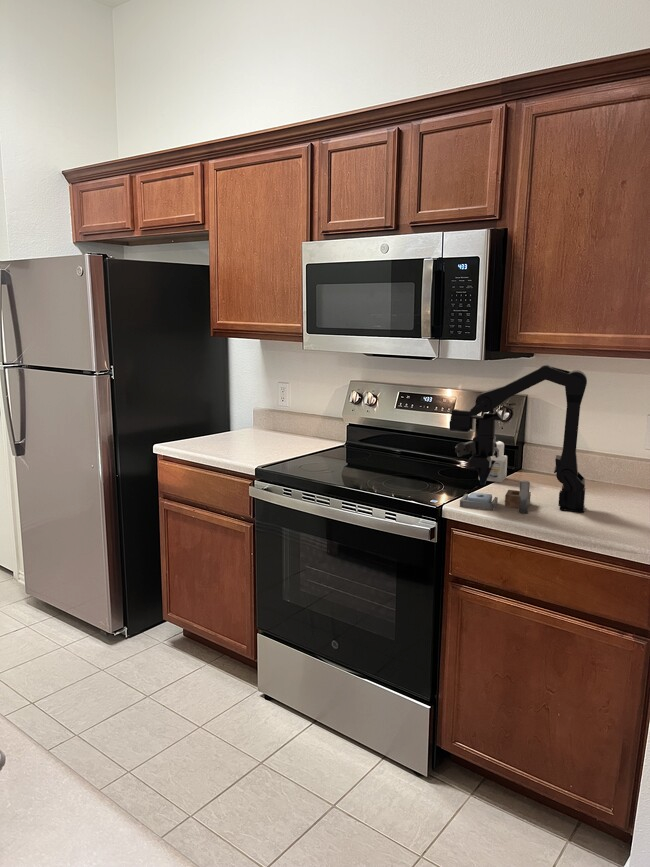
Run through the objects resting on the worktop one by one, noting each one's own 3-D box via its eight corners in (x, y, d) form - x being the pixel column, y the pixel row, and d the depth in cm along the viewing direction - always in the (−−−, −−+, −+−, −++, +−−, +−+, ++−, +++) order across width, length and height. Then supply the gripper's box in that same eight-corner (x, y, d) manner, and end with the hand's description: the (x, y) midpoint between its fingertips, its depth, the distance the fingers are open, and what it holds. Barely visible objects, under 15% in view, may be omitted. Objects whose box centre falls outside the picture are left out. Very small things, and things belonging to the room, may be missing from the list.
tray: (497, 503, 196) (497, 497, 195) (493, 510, 189) (493, 504, 188) (465, 499, 200) (465, 493, 199) (459, 506, 192) (459, 500, 192)
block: (491, 504, 196) (492, 494, 195) (487, 509, 190) (488, 499, 190) (471, 501, 198) (471, 492, 198) (467, 507, 193) (467, 497, 192)
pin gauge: (528, 511, 187) (530, 481, 186) (527, 514, 185) (529, 483, 183) (519, 510, 188) (520, 480, 187) (517, 513, 186) (519, 482, 184)
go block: (530, 503, 196) (530, 491, 195) (527, 509, 190) (528, 497, 189) (507, 500, 198) (508, 489, 197) (504, 506, 192) (505, 495, 192)
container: (478, 479, 223) (480, 442, 220) (484, 474, 229) (485, 438, 227) (501, 482, 219) (503, 444, 217) (506, 477, 226) (508, 440, 224)
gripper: (464, 427, 207) (462, 475, 210) (451, 437, 190) (449, 489, 193) (500, 429, 203) (497, 478, 206) (490, 440, 186) (487, 493, 189)
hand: (482, 484), depth 199 cm, fingers closed
